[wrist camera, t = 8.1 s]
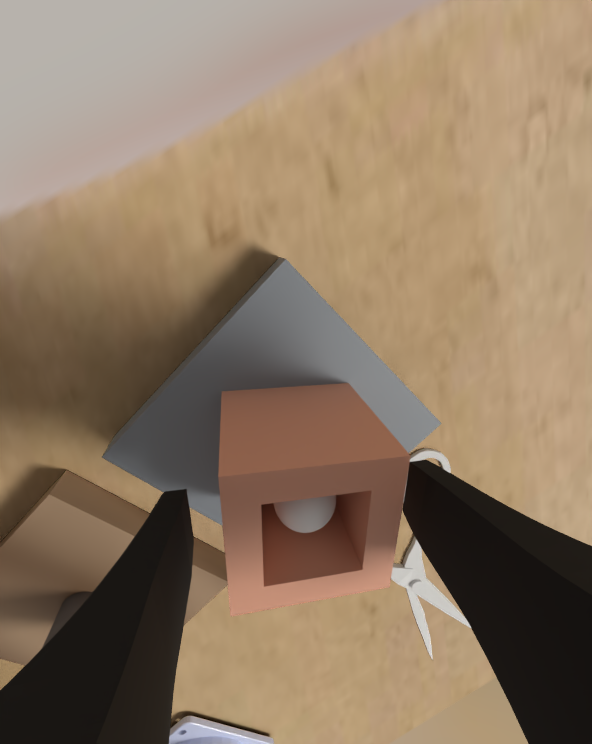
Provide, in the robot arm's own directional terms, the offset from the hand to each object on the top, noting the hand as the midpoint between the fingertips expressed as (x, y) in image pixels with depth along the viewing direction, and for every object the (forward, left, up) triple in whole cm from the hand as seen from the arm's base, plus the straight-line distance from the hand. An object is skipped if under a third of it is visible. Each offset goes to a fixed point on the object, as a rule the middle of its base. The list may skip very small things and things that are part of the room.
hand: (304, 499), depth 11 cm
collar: (0, 0, -4) cm, 4 cm away
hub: (0, 0, -5) cm, 5 cm away
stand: (-12, +1, -5) cm, 13 cm away
